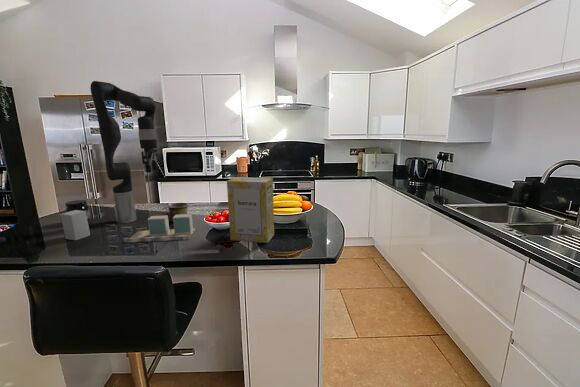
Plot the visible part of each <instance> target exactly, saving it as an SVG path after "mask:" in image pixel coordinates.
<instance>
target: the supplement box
mask: <svg viewBox="0 0 580 387" xmlns="http://www.w3.org/2000/svg"><path fill="white" fill-rule="evenodd" d="M59 216H60V219H61V223H62V224H61V225H62V228H63V233H64V238H65V240H70V241H78V240H81V239H83V238H86V237H89V236H90V235H91V232H90V226H89V222H88V221H87V216H86V211H79V210H74V211H70V212H67V213H66V212H63V213H60V215H59Z"/></svg>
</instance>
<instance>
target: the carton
mask: <svg viewBox="0 0 580 387" xmlns="http://www.w3.org/2000/svg"><path fill="white" fill-rule="evenodd" d="M147 223H148V230H149V232H150V237H162V236H168V235H169V233H170V230H169V229H170V225H169V224H170V223H169V216H168V215H151V216H150V217H148V218H147Z"/></svg>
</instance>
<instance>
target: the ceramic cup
mask: <svg viewBox="0 0 580 387" xmlns="http://www.w3.org/2000/svg"><path fill="white" fill-rule="evenodd" d="M188 208H189V203H187V202H175V203H171V204H169V205H168V210H169V213H170V217H171V219H172V221H173V217H174V216H175V215H180V214H188Z"/></svg>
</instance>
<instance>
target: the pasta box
mask: <svg viewBox="0 0 580 387" xmlns="http://www.w3.org/2000/svg"><path fill="white" fill-rule="evenodd" d="M273 181H274V179H273V177H246V176H245V177H243V176H235V177H233V178H231V179H228V180H227V181H226V191H227V205H228V208H227V209H228V221H229V236H230V238H229V240H230V241H237V242H239V241H240V242H251V243H264V244H269V242H270V241H271V239H273V237H274V235H275V221H274V220H275V216H274V215H275V214H274V213H275V212H274V209H275V208H274V184H273V183H274V182H273Z"/></svg>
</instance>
